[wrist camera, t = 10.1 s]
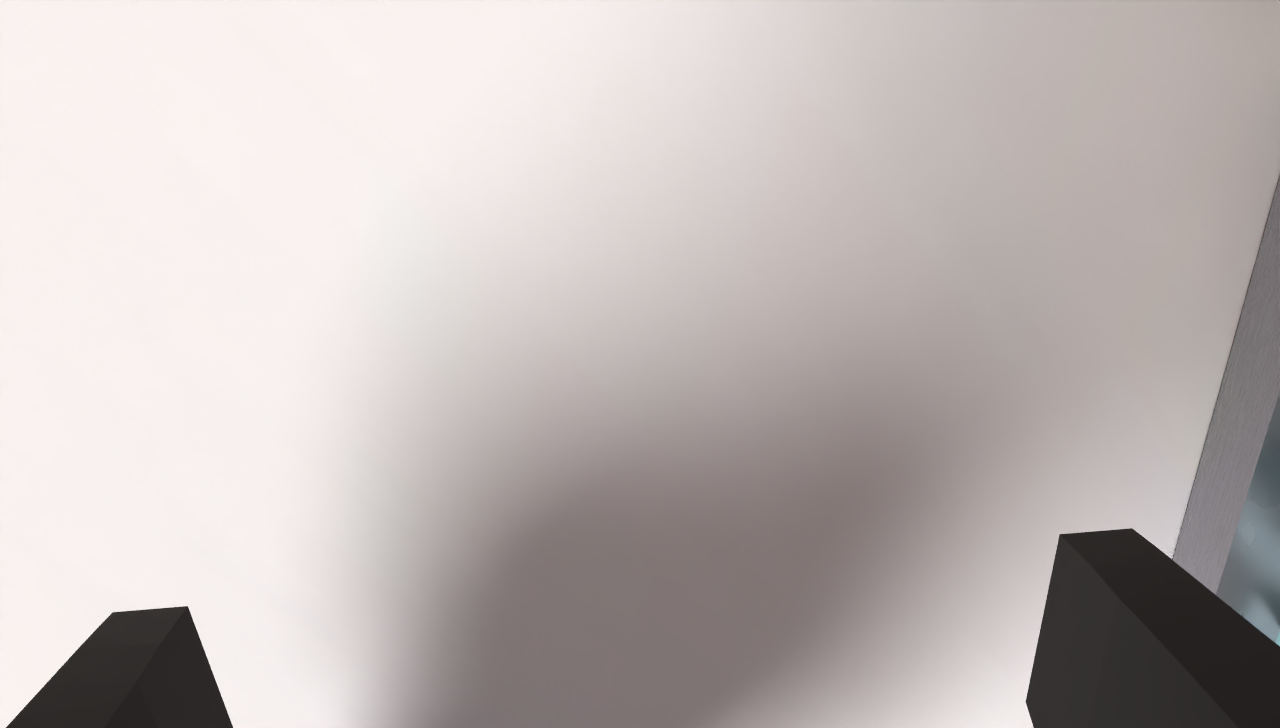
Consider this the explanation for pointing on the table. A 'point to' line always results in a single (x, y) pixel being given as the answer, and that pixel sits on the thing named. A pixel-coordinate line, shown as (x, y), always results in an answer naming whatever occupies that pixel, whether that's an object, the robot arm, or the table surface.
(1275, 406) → the carrier
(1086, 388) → the table surface
